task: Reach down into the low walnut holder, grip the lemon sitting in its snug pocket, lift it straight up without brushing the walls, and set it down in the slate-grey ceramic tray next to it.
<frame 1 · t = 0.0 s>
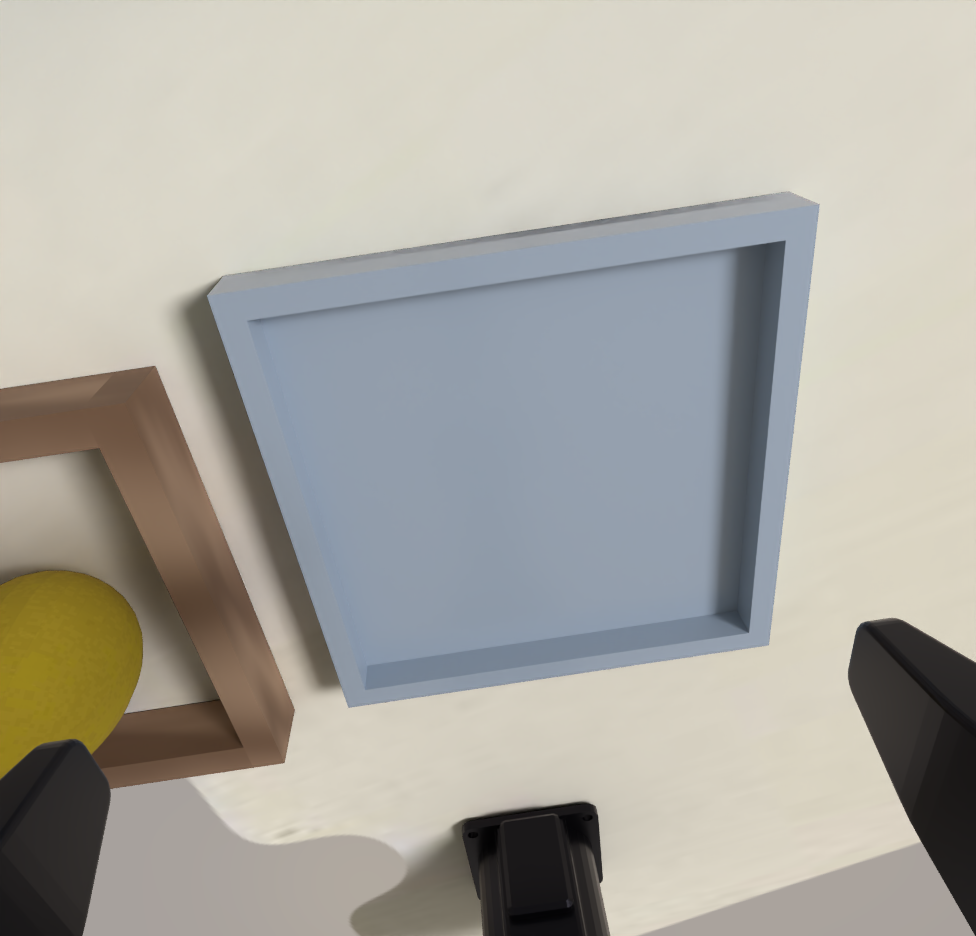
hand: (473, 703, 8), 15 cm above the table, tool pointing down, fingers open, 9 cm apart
tray: (532, 473, 24), on the table
holder: (91, 587, 25), on the table
lemon: (93, 583, 25), resting in holder
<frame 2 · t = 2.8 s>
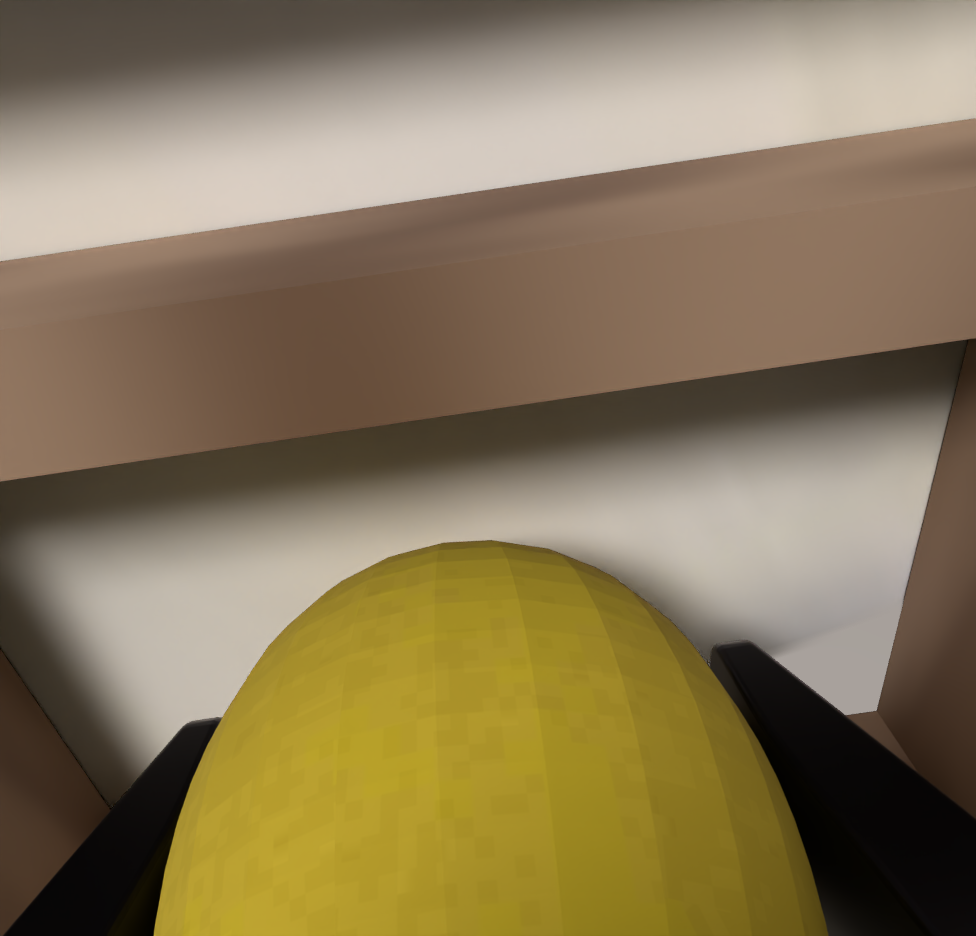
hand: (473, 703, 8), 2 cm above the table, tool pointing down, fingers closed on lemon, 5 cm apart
holder: (464, 589, 10), on the table
lemon: (463, 579, 10), resting in holder, touching gripper
when the fingers open (4 cm above the table, at t = 8.2 s): lemon drops 1 cm, resting on tray.
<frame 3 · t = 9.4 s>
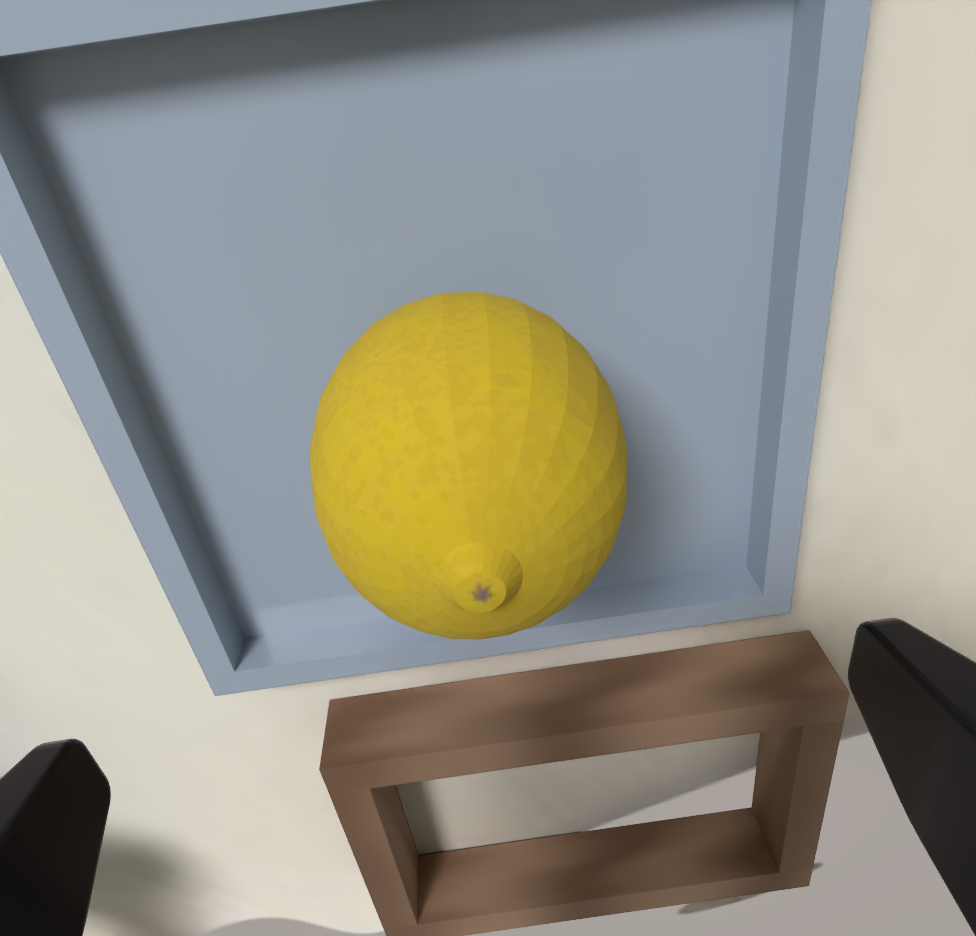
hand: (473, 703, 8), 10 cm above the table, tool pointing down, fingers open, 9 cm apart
tray: (456, 361, 17), on the table
holder: (578, 767, 25), on the table
lemon: (461, 368, 16), resting on tray
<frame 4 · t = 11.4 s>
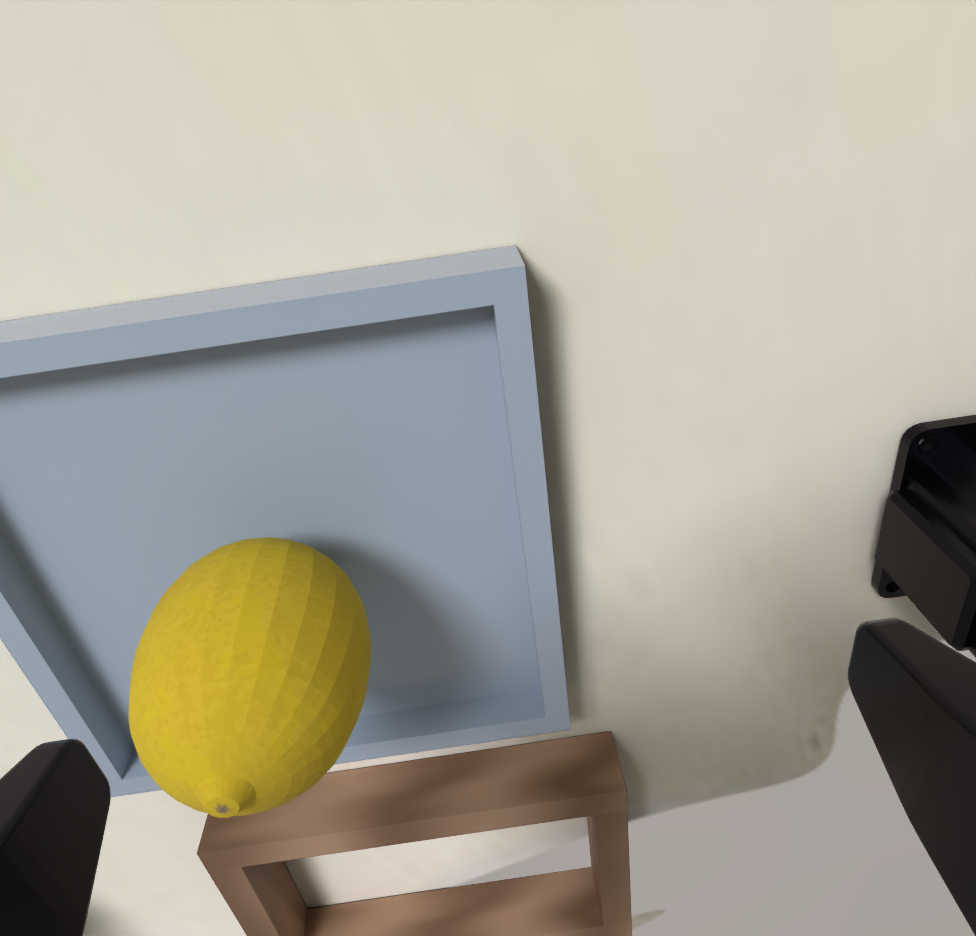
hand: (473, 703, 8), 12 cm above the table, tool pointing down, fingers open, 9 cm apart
tray: (283, 548, 22), on the table
holder: (434, 837, 30), on the table
lemon: (284, 556, 21), resting on tray
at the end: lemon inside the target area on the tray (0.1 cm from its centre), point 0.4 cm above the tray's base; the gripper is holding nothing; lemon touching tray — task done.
